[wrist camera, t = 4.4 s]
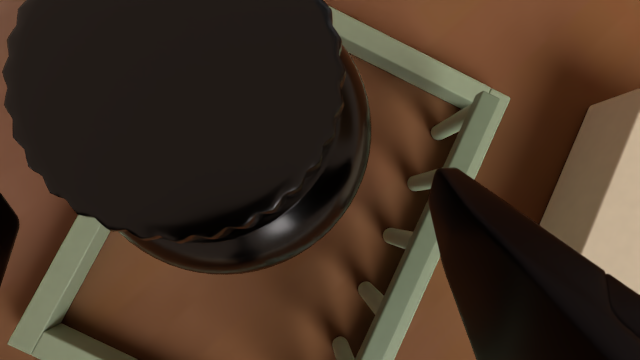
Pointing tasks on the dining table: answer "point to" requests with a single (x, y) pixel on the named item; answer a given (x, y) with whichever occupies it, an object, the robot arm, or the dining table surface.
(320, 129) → the supplement bottle
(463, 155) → the dish rack
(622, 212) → the cream bevelled block
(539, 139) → the dining table surface
